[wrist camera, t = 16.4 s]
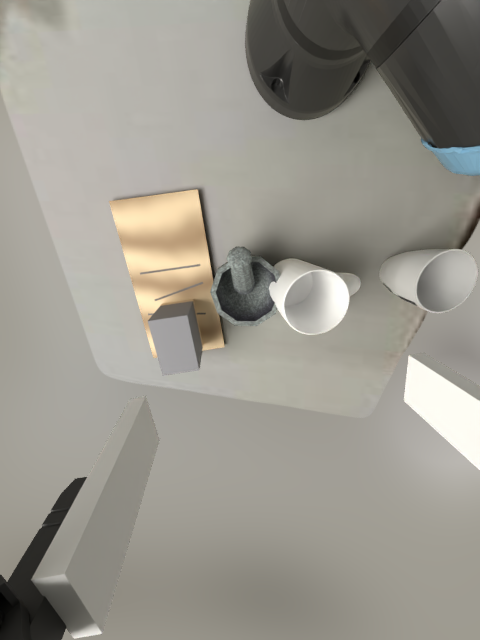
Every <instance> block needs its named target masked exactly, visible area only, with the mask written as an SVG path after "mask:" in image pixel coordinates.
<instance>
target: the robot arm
mask: <svg viewBox="0 0 480 640" xmlns="http://www.w3.org/2000/svg"><path fill="white" fill-rule="evenodd" d="M245 48H246V58H247V63H248V67H249V71H250V74H251V77H252V80H253V82H254V84H255V86H256V88H257V90H258V92H259V93H260V95H261V96H262V98H263V99H264V100H265V101H266V102H267V103H268V104H269V105H270V106H271V107H272V108H273V109H274V110H276V111H277V112H279V113H280V114H282V115H284V116H287V117H289V118H293V119H298V120H309V119H314V118H318V117H321V116H323V115H325V114H327V113H329V112H331V111H332V110H334V109H335V108H336V107H337V106H339V105H340V104H341V103H342V102H343V101H344V100H345V99H346V97H347V96H348V95H349V94H350V93H351V92H352V91H353V90H354V88H355V87H356V86H357V84H358V83H359V81H360V80H361V78H362V77H363V75H364V73H365V71H366V69H367V67H368V65H369V63H370V60H371V61H372V63H373V64H374V66H375V67H376V69H377V71H378V72H379V74H380V75H381V77H382V78H383V80H384V81H385V83H386V84H387V86H388V87H389V89H390V90H391V92H392V93H393V95H394V96H395V98H396V100H397V101H398V103H399V104H400V106H401V107H402V109H403V110H404V112H405V113H406V115H407V116H408V118H409V119H410V121H411V123H412V124H413V126H414V127H415V129H416V130H417V132H418V133H419V135H420V136H421V142H422V144H423V145H424V146H425V147H426V148H427V149H428V150H431V151H432V152H433V153H434V154H435V156H436V157H437V158H438V159H439V161H440V162H441V163H442V165H443V166H444V167H445V168H446V169H448V170H449V171H451V172H453V173H456V174H466V175H470V176H475V175H480V0H251V1H250V5H249V10H248V17H247V25H246V36H245ZM404 401H405V402H406V403H407V404H408V405H409V406H410V407H411V408H412V409H414V410H415V411H416V412H417V413H418V414H419V415H420V416H421V417H422V418H423V419H424V420H425V421H427V422H428V423H429V424H430V425H431V426H432V427H433V428H434V429H435V430H436V431H437V432H438V433H440V434H441V435H442V436H443V437H444V438H445V439H446V440H447V441H448V442H449V443H451V444H452V445H453V446H454V447H455V448H456V449H457V450H458V451H459V452H461V454H462V455H464V456H465V457H466V458H467V459H468V460H469V461H470V462H471V463H472V464H473V465H474V466H476V467H477V468H478V469H479V470H480V386H479V385H477V384H476V383H474V382H472V381H471V380H469V379H467V378H465V377H464V376H462V375H460V374H459V373H457V372H455V371H454V370H452V369H450V368H449V367H447V366H445V365H444V364H442V363H440V362H439V361H437V360H435V359H433V358H432V357H430V356H428V355H426V354H425V353H420V354H413V355H409V359H408V368H407V377H406V386H405V395H404ZM158 443H159V437H158V434H157V430H156V427H155V424H154V421H153V418H152V414H151V411H150V408H149V405H148V402H147V398H146V396H145V397H138V398H131V399H130V400H129V401H128V403H127V405H126V407H125V409H124V411H123V413H122V414H121V416H120V418H119V420H118V422H117V423H116V425H115V427H114V429H113V431H112V433H111V434H110V436H109V438H108V440H107V442H106V444H105V446H104V447H103V449H102V451H101V453H100V455H99V457H98V458H97V460H96V462H95V464H94V466H93V467H92V469H91V471H90V473H89V475H88V477H84V478H77V479H75V480H74V481H73V482H72V483H71V484H70V485H69V486H68V487H67V488H66V489H65V490H64V492H62V493H61V495H60V496H59V498H58V500H57V501H56V503H55V505H54V506H53V508H52V510H51V513H50V514H49V515H48V516H47V518H46V520H45V521H44V523H43V524H42V528H41V529H39V531H38V533H37V534H36V536H35V537H34V539H33V541H32V542H31V544H30V546H29V547H28V549H27V551H26V552H25V554H24V555H23V557H22V559H21V560H20V562H19V564H18V565H17V567H16V569H15V570H14V572H13V573H12V575H11V577H10V578H9V580H8V582H6V580H5V579H4V578H3V577H2V575H0V640H61V639H62V637H63V634H64V632H65V629H67V630H68V631H69V633H70V634H71V635H72V637H73V638H80V637H85V636H92V635H97V634H102V633H103V630H104V626H105V623H106V619H107V616H108V612H109V609H110V606H111V603H112V599H113V596H114V592H115V589H116V586H117V582H118V579H119V576H120V572H121V569H122V565H123V562H124V559H125V555H126V552H127V548H128V545H129V542H130V538H131V535H132V531H133V528H134V525H135V521H136V518H137V515H138V511H139V508H140V504H141V501H142V497H143V494H144V490H145V487H146V484H147V481H148V477H149V474H150V470H151V467H152V464H153V460H154V457H155V453H156V450H157V447H158Z"/></svg>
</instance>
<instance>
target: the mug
mask: <svg viewBox="0 0 480 640" xmlns="http://www.w3.org/2000/svg"><path fill="white" fill-rule="evenodd" d="M273 267H274V268H275V269H276V270H278V271H279V274H280V278H279V279H278V281H277V283H275V282H271V284H270V286H269V291H270V296H271V298H272V299H273V301H274V302H275V305H276V307H277V309H278V311H279V312H280V313H281V315H282V316H283V318H284V319H285V320H286V321H287V323H288V324H289V325H290V326H291V327H292V328H293V329H294V330H296V331H298V332H300V333H303V334H310V335H314V334H321V333H324V332H327V331H329V330H330V329H332V328H333V327H335V326H336V325H337V324H338V323H339V322H340V321H341V320H342V319H343V317H344V316H345V314H346V311H347V309H348V305H349V296H351V295H353V294H355V293H356V292H357V291H358V290H359V288H360V285H361V281H360V279H359V277H357V276H356V275H354V274H351V273H335V272H333V271H331V270H328V269H325V268H322V267H319V266H316V265H313V264H310V263H308V262H305V261H302V260H299V259H293V258H291V259H285V260H282V261H280V262H278V263H277V264H276V265H274V266H273Z"/></svg>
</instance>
